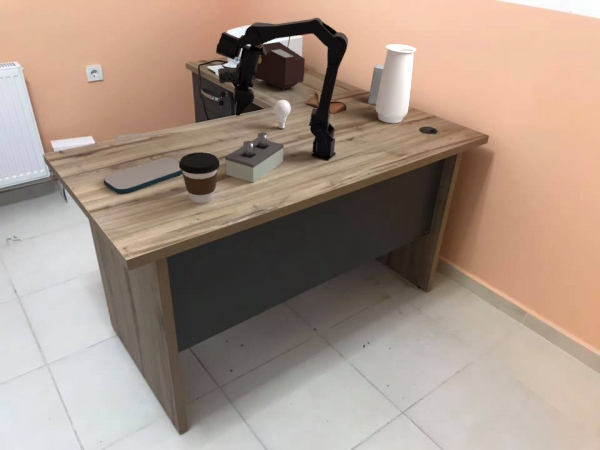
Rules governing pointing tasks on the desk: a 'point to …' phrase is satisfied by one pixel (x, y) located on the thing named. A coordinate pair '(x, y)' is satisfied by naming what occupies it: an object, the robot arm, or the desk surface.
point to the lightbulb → (282, 112)
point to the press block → (254, 161)
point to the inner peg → (262, 140)
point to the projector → (280, 66)
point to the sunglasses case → (334, 105)
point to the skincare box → (375, 84)
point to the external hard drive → (143, 175)
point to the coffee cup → (200, 175)
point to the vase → (395, 84)
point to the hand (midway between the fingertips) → (236, 109)
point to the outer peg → (248, 149)
